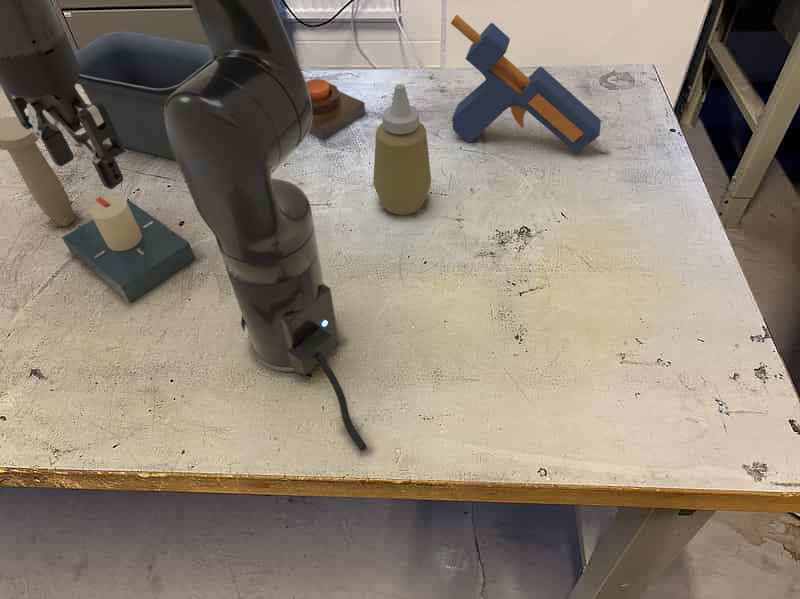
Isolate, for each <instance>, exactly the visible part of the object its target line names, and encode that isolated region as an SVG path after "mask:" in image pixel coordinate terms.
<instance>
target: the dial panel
mask: <svg viewBox="0 0 800 599" xmlns="http://www.w3.org/2000/svg"><path fill="white" fill-rule="evenodd" d="M125 200H126V201H127V203H128V206H129V208H130V210H131V212H132V214H133V216H134V218H135V220H136V223H137V225H138V227H139V229H140V231H141V233H142V239H141V241H140V242H139V243H138V244H137V245H136V246H135V247H133V248H131V249H129V250H125V251H113V250H111V249H110V248H108V246H107V244H106V242H105V241H104V239H103V237H102V235H101V233H100V231H99V229H98V227H97V226H96V224H95V222H94V220H93V219H91V220H90V221H88V222H86V223H84V224H82V225H81V226H79V227H78V228H75V229H74V230H72V231H70V232H69V233H67V234H65V235H64V236H62V237H61V239H62V241H63V242H64V244H65V246H66V247H67V249H68V250H69V252H70V254H71V255H72V256H73V257H75V258H76V259H77V260H78V261H79V262H81V263H82V264H83V265H84V266H86V268H88V269H89V270H90V271H91V272H93V273H94V274H95V275H96V276H97V277H99V278H100V279H101V280H102V281H103V282H104V283H105V284H107V285H108V286H109V287H111V288H112V289H113V290H114V291H115V293H117V294H119V295H120V296H121V297H122V298H123V299H124V300H126V301H127V302H128V303H130V304H131V303H133V302H134V301H136V300H138V298H140V297H141V296H143V295H145V294H146V293H147V292H149V291H150V290H152V289H154V288H155V287H156V286H158V285H159V284H161V283H162V282H164V281H166V280H167V279H168V278H170V277H171V276H172V275H174V274H175V273H177V272H178V271H180V270H181V269H183V268H184V267H186V266H187V265H189V264H191V263H192V262H193V261H195V260H196V256H195V254H194V252H193V251H194V250H193V249H192V247H191V244H190V242H189V241H187V240H186V239H185V238H183V237H182V236H181V235H179V234H177V233H176V232H175V231H174V230H172V229H171V228H169V227H168V226H166V225H165V224H164V223H162V222H161V221H159V220H158V219H156V217H153V215H151V214H150V213H148V212H147V211H145V209H142V208H141V207H139V205H136V204H135V203H134V202H132V201H131V200H130V199H125Z"/></svg>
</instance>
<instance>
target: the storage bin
mask: <svg viewBox="0 0 800 599" xmlns="http://www.w3.org/2000/svg"><path fill="white" fill-rule="evenodd" d="M73 53H74V55H75V57H76V60H77V62H78V64H79V67H80V75H79V77H78V79H77V81H76V84H75V85H78V86H79V85H80V86H81V88H82V90H83V92H84V94H85V95H86V97H87V99H88V101H89V103H90V105H91V104H93V103H95V102H96V101H100V102H101V103H102V104H103V105H104V107H105V109H106V111H107V113H108V115H109V117H110V119H111V121H112V123H113V126H114V128H115V130H116V132H117V134H118V136H119V138H120V140H121V142H122V145H123V147H124V148H127V149H129V150H130V149H131V150H134V151H139V152H142V153H146V154H150V155H151V154H152V155H155V156H159V157H163V158H166V159H171V160H175V157H174V155H173V152H172V150H171V147H170V145H169V142H168V139H167V135H166V131H165V127H164V107H165V103H166V101H167V99H168V98H169V96H170V95H171V94H172V93H173V92H174V91H176V90H177V89H178V88H179V87H181V86H182V85H183V84H185V83H186V82H187V81H189V80H190V79H191V78H193V77H194V76H196V75H197V74H198V73H200V72H201V71H202V70H204V69H205V68H207V67H208V66H209V65H211V64H212V63H213V59H212V55H211V51H210V48H209V45H203V44H198V43H192V42H186V41H182V40H176V39H171V38H165V37H161V36H155V35H150V34H144V33H138V32H131V31H114V32H110V33H107V34H104V35H101V36H100V37H98V38H96V39H94V40H93V41H91V42H89V43H88V44H86V45H85V46H83V47H81V48H80V49H78V50H76V51H75V52H73Z"/></svg>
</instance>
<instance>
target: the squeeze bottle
mask: <svg viewBox="0 0 800 599" xmlns="http://www.w3.org/2000/svg"><path fill="white" fill-rule="evenodd" d="M381 119H382V123H381V124H379V125H378V127H377V128H376V130H375V131H376V132H375V143H374V144H375V145H374V161H373V162H374V163H373V179H372V180H373V182H372V184H373V187H374V189H375V192H376V194H377V196H378V198H379V199H380V202H381V204H382V207H383V208H384V209H385V210H386V211H387V212H388V213H391V214H394V215H401V216H406V215H410V214H411V215H412V214H414V213H415V212H418V211H419V210H421V208H422V206H423V205H424V203H425V201H426V198H427V195H428V193H429V191H430V189H431V185H432V184H431V183H432V175H431V164H430V156H429V145H428V135H427V129H426V127H425V126H424V124H423V123H421V122H420V112H419V110H418V108H416V107H415V106H413V105H410V101H409V98H408V93H407V89H406V85H405V84H403V83H397V84H395V86H394V91H393V95H392V101H391V105H390V106H387V107H386V108H385V109H384V110H383V111H382V114H381Z"/></svg>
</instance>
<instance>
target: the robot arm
mask: <svg viewBox="0 0 800 599" xmlns="http://www.w3.org/2000/svg"><path fill="white" fill-rule="evenodd" d="M188 2H189V4H190V5H191V7H192V10H193V12H194V13H195V14H194V15H195V16H196V18H197V20H198V23H199V25H200V27H201V29H202V32H203V34H204V37H205V40H206V42H207V44H208V45H207V46H208V47H209V48H210V51H211V55H212V59H213V63H212V64H211V65H209V66H208V67H207V68H205V69H204V70H202V71H201V72H200V73H198V74H197V75H196V76H194V77H193V78H191V79H190V80H189V81H187V82H186V83H185V84H183V85H182V86H181V87H179V88H178V89H177V90H176V91H174V92H173V93H172V94H171V95H170V96H169V98H168V99H167V101H166V103H165V107H164V127H165V131H166V135H167V139H168V142H169V145H170V147H171V150H172V152H173V155H174V157H175V159H174V160H175V162H176V164H177V166H178V169H179V171H180V173H181V176H182V178H183V180H184V182H185V184H186V186H187V190H188V191H189V194H190V196H191V198H192V201H193V203H194V205H195V208H196V210H197V212H198V214H199V215H200V217H201V218H202V220H203V221H204V223H205V225H206V226H207V227H208V228H209V229H210V231H211V233H213V234H212V235H214V237H215V239H216V243H217V246H218V249H219V251H220V255H221V257H222V260H223V264H224V266H225V270H226V272H227V275H228V277H229V281H230V284H231V287H232V290H233V292H234V296H235V298H236V301H237V304H238V307H239V310H240V313H241V320H240V325H241V328H242V331H243V332H245V328H246V331H247V333H248V335H249V339H250V341H251V347H252V350H253V353H254V355H255V357H256V358H257V360H258V361H259V362H260V363H261V364H263V366H265V367H267V368H269V369H271V370H274V371H278V372H285V373H286V372H287V373H289V372H294V373H296V374H298V375H299V376H307V375H308V374H309V372H311V371H312V370H313V369H315V367H316V366H318V365H319V366H320V367H321V369H322V370H323V372H324V374H325V375H326V378H327V379H328V381H329V383H330V384H331V386H332V388H333V390H334V393H335V395H336V397H337V400H338V404H339V409H340V413H341V418H342V422H343V424H344V427H345V429H346V431H347V433H348V434H349V436H350V437H351V439H352V440H353V442H354V443H355V445H356V446H357V447H358V449H359V451H364V450H366V449H367V448H368V446H367V444H366V443H365V441H364V440H363V439H362V437H361V436H360V434H359V433H358V432H357V430H356V428H355V426H354V423H353V422H352V419H351V416H350V413H349V408H348V402H347V399H346V396H345V393H344V390H343V389H342V386H341V384H340V383H339V380H338V377H336V374H335V373H334V371H333V370H332V368H331V367H330V365H329V363H328V361H327V360H326V358H327V357H328V356H329V355H330V354H331V353H332V352H333V351H334V350H335V347H336V346H338V345H339V344H340V339H339V332H338V326H337V319H336V313H335V308H334V307H335V306H334V302H333V294H332V289H331V287H329V286H328V285H326V284H325V281H324V275H323V269H322V263H321V258H320V252H319V246H318V240H317V236H316V235H317V234H316V227H315V223H314V217H313V211H312V206H311V203H310V200H309V198H308V196H307V195H306V193H305V192H304V191H303V190H302V189H301V188H300V187H299V186H297V185H295V184H294V183H291V182H289V181H287V180H283V179H280V178H279V179H278V178H272V174H273V173H274V172H275V171H277V169H278V168H279V167H280V166H281V165H282V164H284V162H285V161H286V160H287V159H288V158H289V157H291V155H292V154H293V153H294V152H295V151H296V150H297V149H298V148H299V147H300V145H301V144H302V143H303V142H305V139H306V138H307V136H308V135H309V133H308V132H309V130H310V128H311V124H312V104H311V99H310V95H309V91H308V88H307V85H306V82H307V81H306V79H305V76H304V73H303V71H302V67H301V65H300V63H299V61H298V58H297V55H296V54H295V50H294V48H293V45H292V43H291V41H290V38H289V36H288V33H287V31H286V29H285V27H284V24H283V21H282V19H281V17H280V14H279V12H278V9H277V7H276V4H275V2H274V0H188ZM74 53H75V52H74V51H73V49H72V46H71V44H70V42H69V39H68V38H67V36H66V33H65V31H64V28H63V26H62V23H61V22H60V20H59V17H58V15H57V12H56V10H55V8H54V6H53V3H52V2H51V0H0V87H1V89H2V91H3V93H4V95H5V97H6V98H7V100H8V102H9V105H10V107H11V108H12V109H13V112H14V114H15V115H16V117H18V119H19V121H20V123H21V125H22V126H23V127H24V128H25V129H27V130H28V129H30V128H32V129H33V132H34V134H35V136H37V137H38V138H39V139H40V140H41V142H42V144H43V145H44V147H45V149H46V151H47V152H48V154H49V156H50V158H51V160H52V161H53V164H55V165H56V166H59V167H63V166H66V165H67V164H69V163H70V162H72V161H73V160H74V158H75V156H74V153H73V151H72V149H71V147H70V146H69V143H68V142H67V141H69V142H70V144H71V145H72V146H74V147H75V148H81V149H82V150H83V152H84V153H85V154H86V155H87V156H88V157H89V158H90V159H91V161H92V164H93V167H94V169H95V170H96V173H97V175H98V176H99V179H100V181H101V183H102V186H104V187H105V188H107V189H110V190H112V189H114V188H116V187H117V186H118V185H120V184H122V183H123V181H124V176H123V173H122V171H121V169H120V167H119V165H118V162H117V160H116V158H117V157H119V156H120V155H122V154H124V153H125V152H126V149H125V147H123V145H122V142H121V140H120V138H119V136H118V134H117V132H116V130H115V128H114V126H113V123H112V121H111V119H110V117H109V115H108V113H107V111H106V109H105V107H104V105H103V104H102V103H101V102H100V101H96V102H95V103H93V104H91V103H90V104H89V103H86V102H85V100H84V99H83V97H82V96H81V94H80V93H79V91H78V90H77V89H76V85H77V84H76V81H77V79H78V77H79V75H80V67H79V64H78V62H77V60H76V57H75V55H74ZM25 110H27V111H28V115H27V114H26V111H25ZM82 129H84V132H83V133H82V134H77V132H78V131H80V130H82ZM39 139H38V140H39ZM89 141H90V143H91V144H90V143H89Z"/></svg>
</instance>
